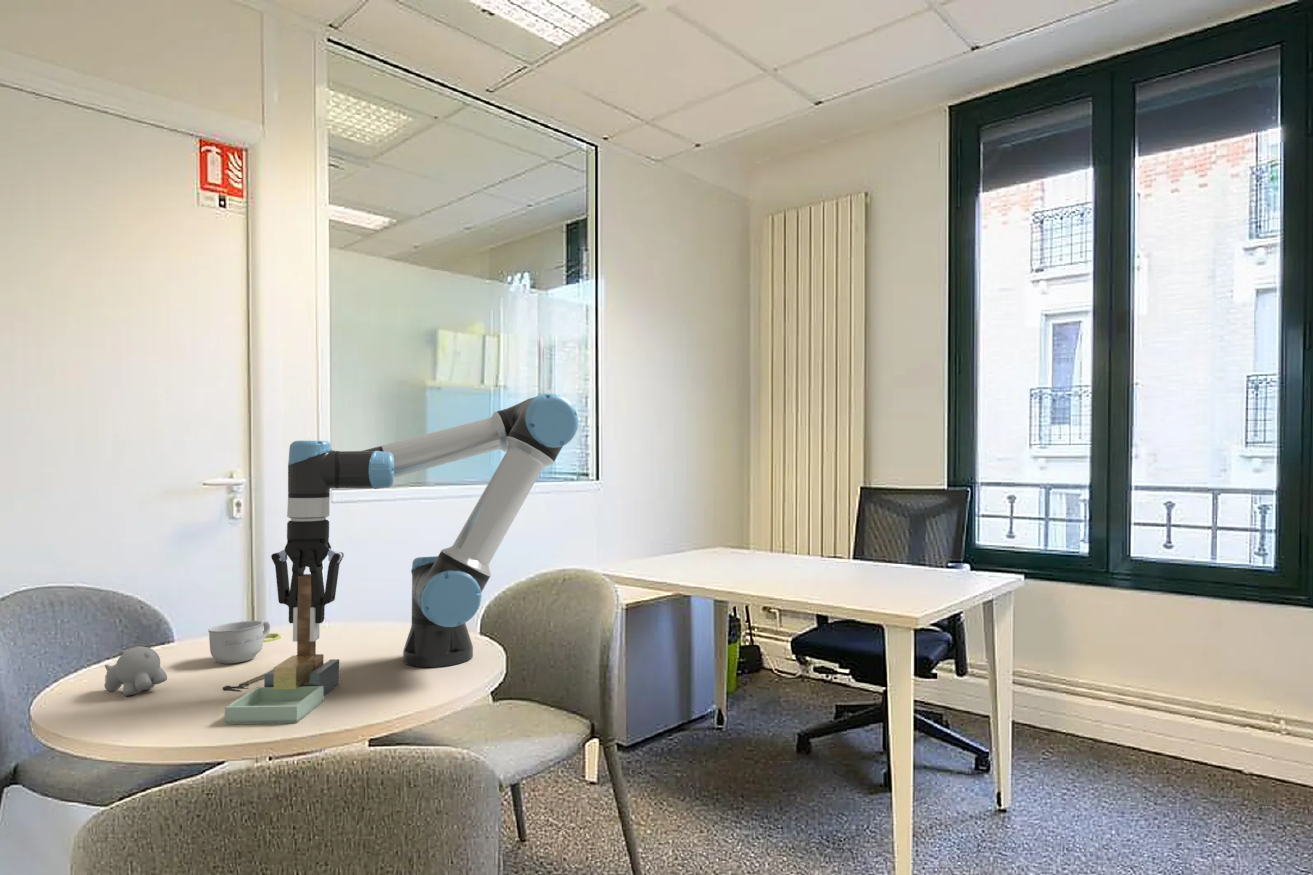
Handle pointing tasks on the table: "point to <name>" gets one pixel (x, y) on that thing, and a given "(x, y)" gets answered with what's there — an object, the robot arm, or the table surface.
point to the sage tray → (274, 705)
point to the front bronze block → (289, 675)
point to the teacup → (237, 640)
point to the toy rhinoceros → (135, 671)
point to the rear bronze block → (308, 663)
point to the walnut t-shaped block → (306, 620)
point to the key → (270, 635)
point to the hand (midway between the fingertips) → (306, 639)
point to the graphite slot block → (315, 676)
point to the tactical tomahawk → (244, 684)
